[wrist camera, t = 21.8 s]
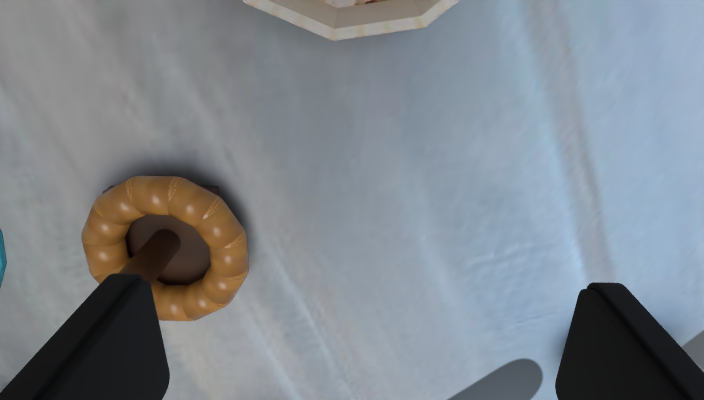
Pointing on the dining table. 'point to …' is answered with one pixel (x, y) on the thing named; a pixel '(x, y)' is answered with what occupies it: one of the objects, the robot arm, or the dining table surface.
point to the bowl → (355, 15)
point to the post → (166, 249)
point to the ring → (188, 206)
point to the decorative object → (2, 258)
